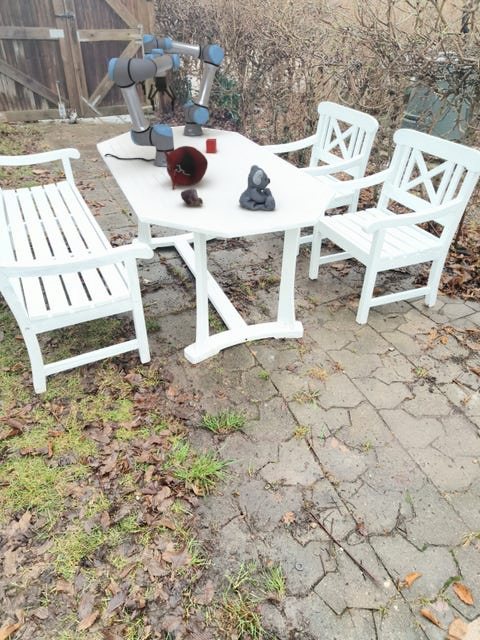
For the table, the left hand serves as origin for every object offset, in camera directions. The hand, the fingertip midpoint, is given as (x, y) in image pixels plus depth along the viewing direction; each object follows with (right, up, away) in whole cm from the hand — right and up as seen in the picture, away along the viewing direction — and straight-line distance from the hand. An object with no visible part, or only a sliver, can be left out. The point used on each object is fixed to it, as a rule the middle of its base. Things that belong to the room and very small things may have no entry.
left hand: (163, 111), depth 309 cm
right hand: (-9, +19, +15) cm, 26 cm away
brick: (+32, -24, +10) cm, 42 cm away
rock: (+28, -85, -77) cm, 118 cm away
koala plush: (+61, -86, -79) cm, 132 cm away
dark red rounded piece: (+22, -64, -48) cm, 83 cm away
